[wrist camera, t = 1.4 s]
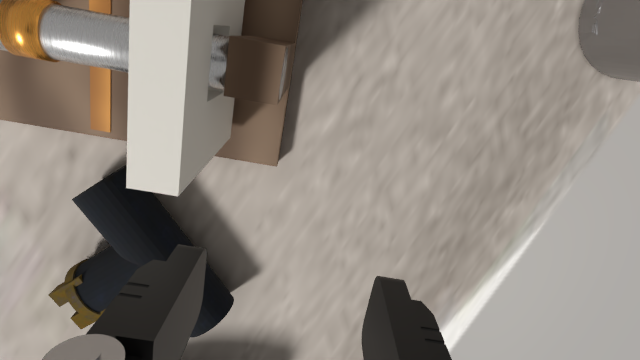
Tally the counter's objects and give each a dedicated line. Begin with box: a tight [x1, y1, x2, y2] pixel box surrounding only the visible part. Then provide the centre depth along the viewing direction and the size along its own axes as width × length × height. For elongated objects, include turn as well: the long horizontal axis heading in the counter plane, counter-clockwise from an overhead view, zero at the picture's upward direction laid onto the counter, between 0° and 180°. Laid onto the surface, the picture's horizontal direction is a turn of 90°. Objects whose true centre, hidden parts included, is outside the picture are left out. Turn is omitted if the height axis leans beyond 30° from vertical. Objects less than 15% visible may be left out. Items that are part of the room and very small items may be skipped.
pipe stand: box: [0, 0, 303, 166], centre depth 26 cm, size 22×16×10 cm
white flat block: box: [126, 0, 245, 196], centre depth 23 cm, size 2×12×12 cm, turn 170°
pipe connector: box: [49, 165, 234, 337], centre depth 35 cm, size 12×5×15 cm
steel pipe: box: [0, 0, 288, 100], centre depth 23 cm, size 22×3×3 cm, turn 80°
